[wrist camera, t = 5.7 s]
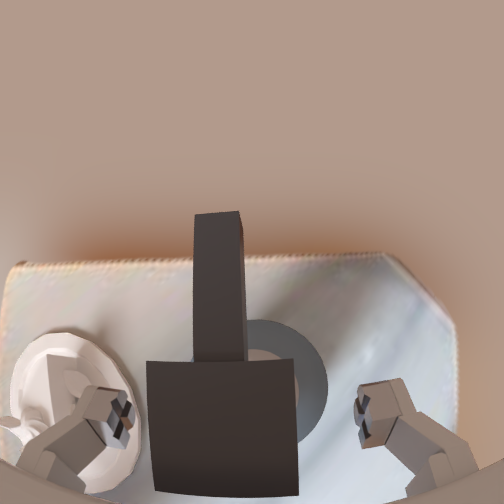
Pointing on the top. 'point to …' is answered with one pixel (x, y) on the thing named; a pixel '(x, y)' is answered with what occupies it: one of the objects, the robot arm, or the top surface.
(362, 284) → the top surface
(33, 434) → the dish
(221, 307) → the pump head
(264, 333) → the dispenser
